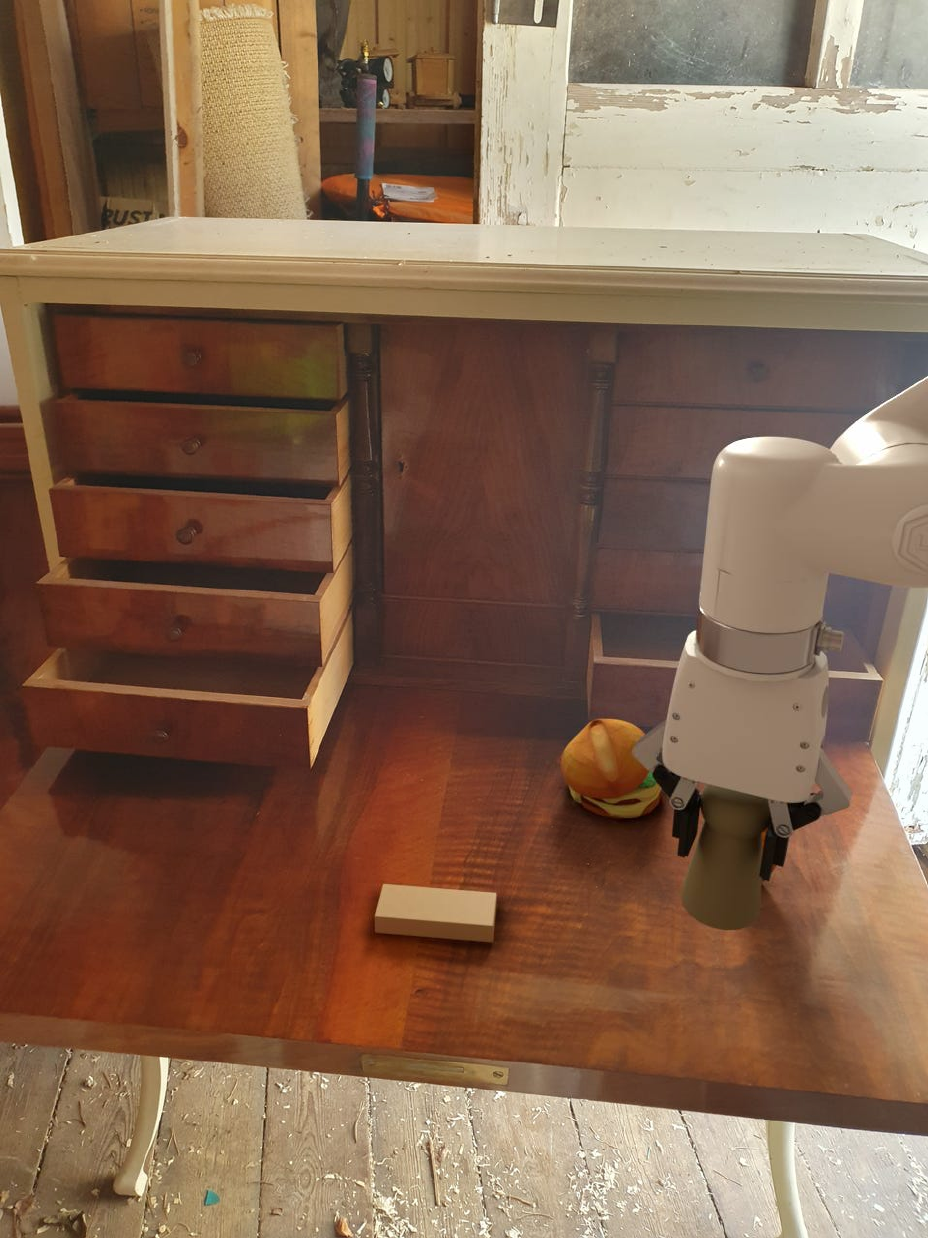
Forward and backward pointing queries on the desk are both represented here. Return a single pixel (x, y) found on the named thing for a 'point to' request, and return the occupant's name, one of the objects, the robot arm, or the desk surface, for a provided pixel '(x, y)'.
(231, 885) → the desk surface
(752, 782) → the robot arm
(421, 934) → the beige rectangular eraser
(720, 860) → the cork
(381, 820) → the desk surface
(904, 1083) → the desk surface
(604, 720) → the cheeseburger
